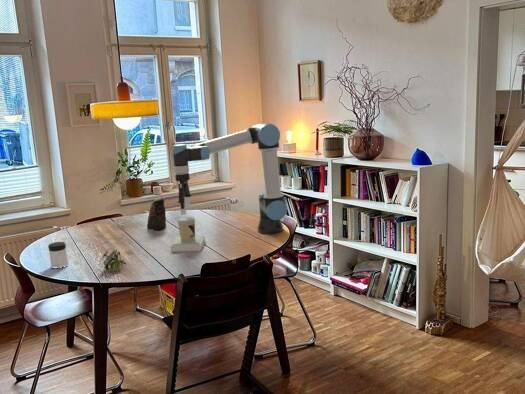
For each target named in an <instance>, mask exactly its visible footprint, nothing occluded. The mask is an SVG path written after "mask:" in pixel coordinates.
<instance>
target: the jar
mask: <svg viewBox="0 0 525 394" xmlns="http://www.w3.org/2000/svg"><path fill="white" fill-rule="evenodd" d="M48 253H49V260H50V261H49V262H50V268H51V267H58V268H60V267H64V266H67V265H68V266H69V259H68V254H67V253H68V252H67V245H66V242H65V241H56V242H51V243H49V244H48Z"/></svg>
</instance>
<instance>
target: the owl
mask: <svg viewBox="0 0 525 394" xmlns="http://www.w3.org/2000/svg"><path fill="white" fill-rule="evenodd" d="M166 222H167V217H166V207H165V200H164V198H163V197H162V195H160V196H159V197H157V198H155V199H154V200H153V201H152V203H151V205H150V209H149V213H148V216H147V225H146V228H147V230H151V231H155V232H161V231H163V230H165V229H166V228H167V223H166Z"/></svg>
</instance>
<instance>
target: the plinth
mask: <svg viewBox="0 0 525 394" xmlns="http://www.w3.org/2000/svg"><path fill="white" fill-rule="evenodd" d="M205 243H206V238H205V235H195V240H193V241H189V242H183V241H181V237H180V235H179V236H176V238H174V240H173V242H171V244H170V251H171V252H173V253H175V252H194V251H195V252H196V251H198V252H199V251H202V248H203V246H204V245H205Z"/></svg>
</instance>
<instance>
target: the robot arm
mask: <svg viewBox="0 0 525 394" xmlns="http://www.w3.org/2000/svg"><path fill="white" fill-rule="evenodd" d="M280 139H281V132H280V130H279V128H278V126H276V125H275V124H274V123H269V122H261V123H257V124H256V125H253V126H249V127H246V129H245V130H242V131H239V132H235V133H232V134H228V135H224V136H222V137H218V138H217V137H216V138H214V139H211V140H207V141H204V142H199V143H195V144H192V145H191V146H190V147H188V146H187V144H185V143H181V144H178V143H177V144H174V145H173V146H172V159H173V170H174V173H175V176H174V178H175V181H176V182H179V183H178V184H177V186H178V201H177V203H178V204H179V207H180V215H182V216H184V215H187V210H189V209H192V207H191V198H190V197H192V194H191V192H190V188H189V181H190V173H189V172H190V168H189V162H196V161H197V162H198V161H207V160H210V159H211V155H212V154H216V153H219V152H223V151H226V150H230V149H234V148H237V147H241V146H244V145H247V144H249V145H253V144H257V147H258V150H259V151H260V152H261V158H262V160H261V161H262V168H263V178H264V190H265V191H264V193H260V194H259V195H258V205H259V220H258V225H257V232H258V233H260V234H265V235H268V234H269V235H270V234H271V235H272V234H278V233H281V232H283V230H284V227H283V223H282V221H281V220H282V219H283V218H284V217H286V214H287V213H288V207H287V204H286V203H285V195H284V193H283V192H282V191H281V182H280V181H281V179H280V178H281V177H280V171H279V169H280V168H279V160H278V159H279V157H278V149H279V148H280Z"/></svg>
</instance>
